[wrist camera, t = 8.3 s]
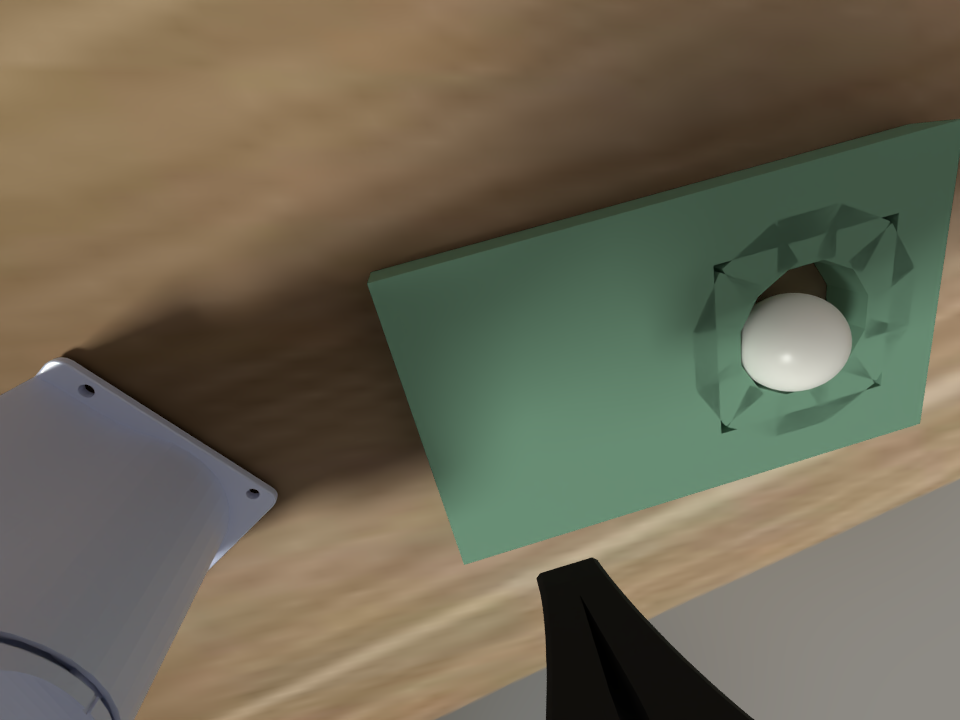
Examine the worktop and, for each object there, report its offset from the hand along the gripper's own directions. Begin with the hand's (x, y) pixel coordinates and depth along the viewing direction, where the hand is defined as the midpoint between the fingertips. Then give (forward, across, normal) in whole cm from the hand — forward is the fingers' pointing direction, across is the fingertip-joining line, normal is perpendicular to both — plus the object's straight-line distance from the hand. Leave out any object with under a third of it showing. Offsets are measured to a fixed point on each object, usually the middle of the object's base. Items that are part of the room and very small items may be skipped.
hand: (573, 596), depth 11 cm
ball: (+8, -12, 0) cm, 15 cm away
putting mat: (+10, -8, 0) cm, 13 cm away
